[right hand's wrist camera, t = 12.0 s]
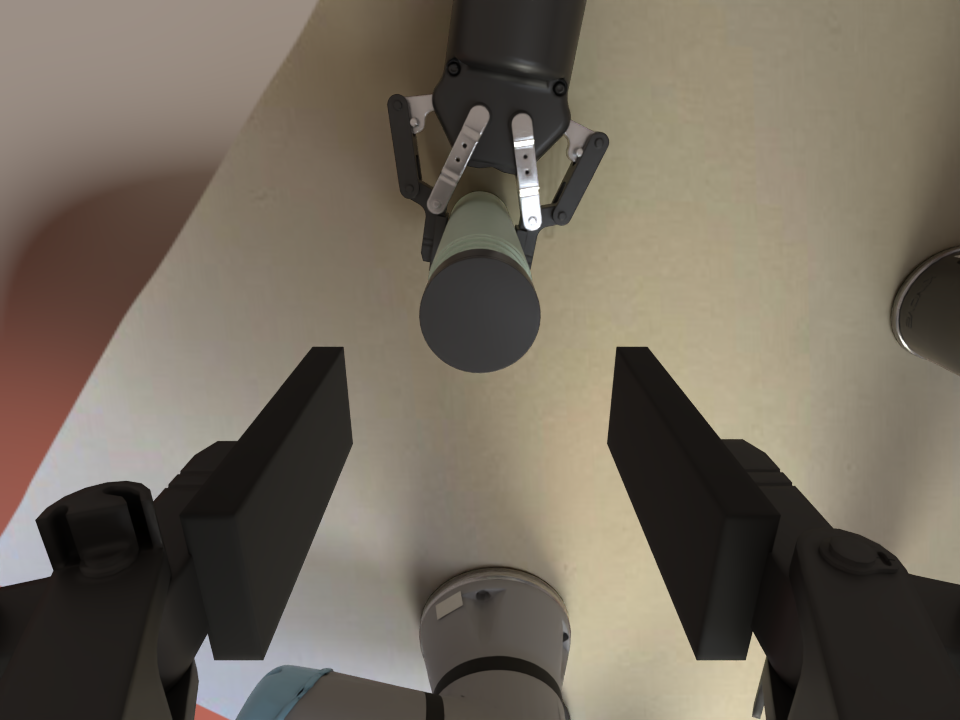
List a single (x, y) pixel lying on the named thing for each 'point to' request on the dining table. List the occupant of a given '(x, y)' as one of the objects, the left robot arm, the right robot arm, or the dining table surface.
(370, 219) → the dining table surface
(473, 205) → the bottle
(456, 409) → the dining table surface
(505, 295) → the cap
